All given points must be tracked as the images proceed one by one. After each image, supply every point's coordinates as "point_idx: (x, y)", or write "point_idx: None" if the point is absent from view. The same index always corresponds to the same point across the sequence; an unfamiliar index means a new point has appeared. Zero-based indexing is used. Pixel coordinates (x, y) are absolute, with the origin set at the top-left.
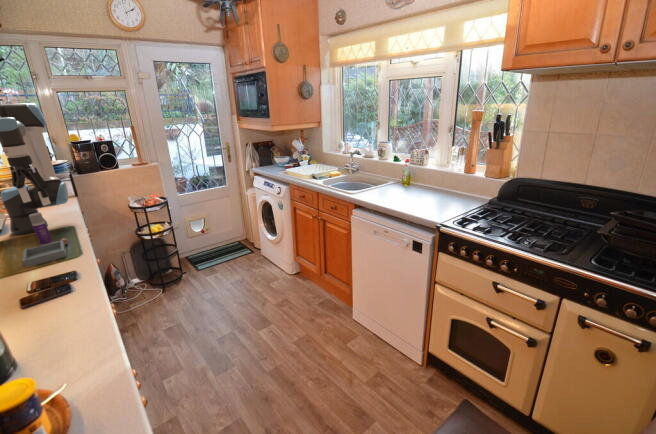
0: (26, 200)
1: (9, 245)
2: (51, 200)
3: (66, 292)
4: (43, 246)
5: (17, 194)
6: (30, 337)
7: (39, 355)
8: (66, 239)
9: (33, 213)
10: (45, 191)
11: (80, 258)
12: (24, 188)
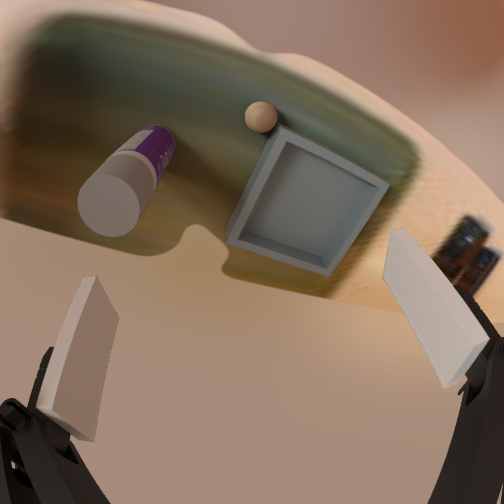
0: (107, 314)
1: (56, 225)
2: None
3: (493, 262)
4: (258, 193)
5: None
6: (500, 312)
7: None
8: (272, 109)
9: (79, 206)
10: (493, 333)
11: (432, 167)
12: (65, 409)
